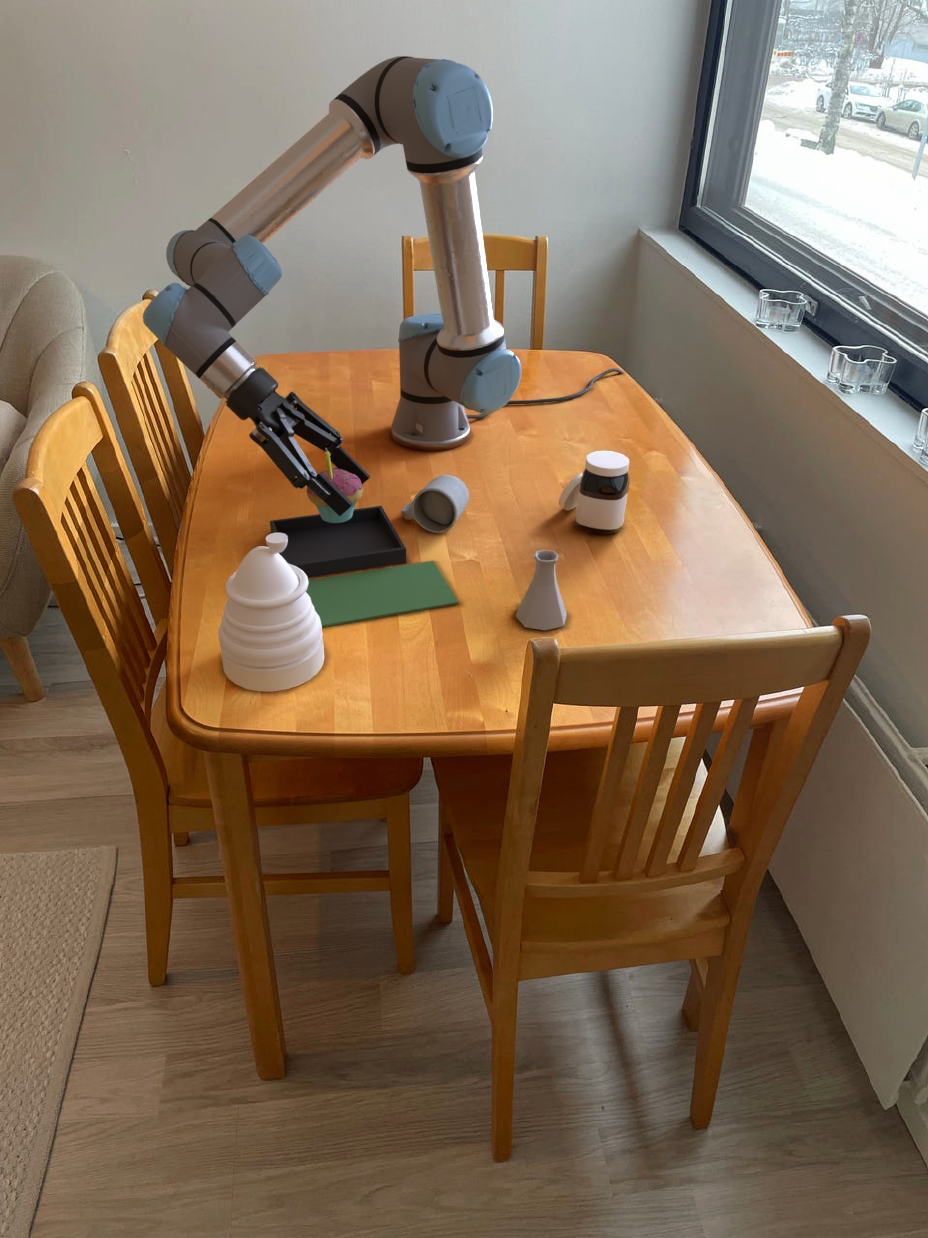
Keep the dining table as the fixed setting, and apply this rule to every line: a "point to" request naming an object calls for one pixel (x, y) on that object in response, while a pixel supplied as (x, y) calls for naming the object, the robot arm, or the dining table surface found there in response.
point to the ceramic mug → (438, 504)
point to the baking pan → (341, 542)
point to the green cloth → (379, 593)
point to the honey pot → (270, 623)
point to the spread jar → (599, 493)
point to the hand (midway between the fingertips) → (355, 495)
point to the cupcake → (346, 484)
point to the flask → (543, 596)
